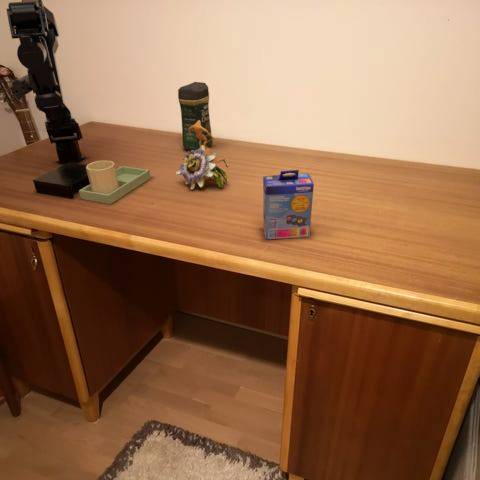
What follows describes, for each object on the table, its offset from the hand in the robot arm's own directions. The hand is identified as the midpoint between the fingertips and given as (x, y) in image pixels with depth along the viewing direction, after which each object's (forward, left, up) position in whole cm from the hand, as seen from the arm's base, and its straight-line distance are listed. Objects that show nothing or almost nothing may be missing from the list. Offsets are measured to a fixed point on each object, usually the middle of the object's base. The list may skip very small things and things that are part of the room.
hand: (56, 128), depth 124 cm
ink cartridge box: (+11, +70, -13) cm, 72 cm away
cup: (+7, +19, -12) cm, 24 cm away
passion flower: (-7, +40, -13) cm, 43 cm away
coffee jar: (-33, +24, -13) cm, 43 cm away
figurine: (-22, +32, -13) cm, 41 cm away
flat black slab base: (+6, +6, -13) cm, 15 cm away
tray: (+3, +19, -13) cm, 23 cm away
